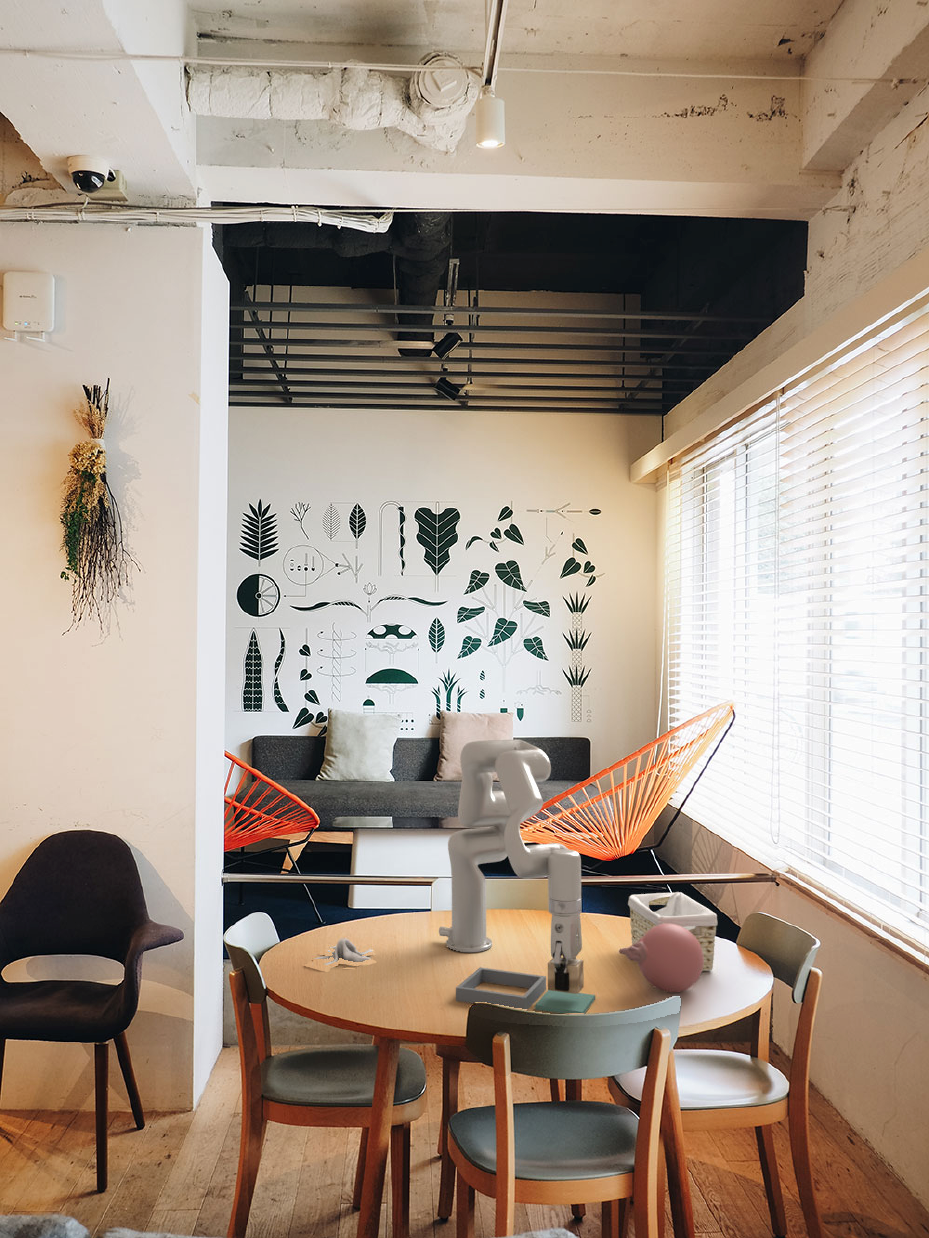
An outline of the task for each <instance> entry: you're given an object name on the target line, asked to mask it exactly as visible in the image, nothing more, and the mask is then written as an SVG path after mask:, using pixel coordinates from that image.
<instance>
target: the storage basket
mask: <svg viewBox="0 0 929 1238" xmlns="http://www.w3.org/2000/svg"><path fill="white" fill-rule="evenodd" d="M627 905H628V906H629V913H630V914H629V917H630V918H629V919H630V934H631V945H633V944H635V943H637V942H638V941H639V940H640V939H641V938H642V937H643V936H644V935H645V933H646V932H647V931H649V930H650V929H651V928H653V927H655V926H657V925H660V924H676V925H679V926H681V927H684V928H685V929H687V930H688V931H690V932H691V933H692V934H693V935H694V936H695V938H696V939H697V940H698V942H699V944H700V946H701V948H702V952H703V958H704V963H703V969H702V972H710V971H712V970H713V967H714V965H713V964H714V955H715V942H716V939H715V937H716V935H717V926H718V915H717V913H715V912H713V911H712V910H711V909H709V908H707V907H706V906H704V905H702V904H701V903H699V902H698V901H696V900H694V899H692V898H691V897H690V896H688V895H686V894H684V893H683V892H681V891H680V892H679V891H676V892H656V893H645V894H644V893H641V894H631V895H630V896H628V902H627ZM653 905H654V906H656V905H657V906H659V905H660V906H661V905H662V906H664V907H662V908H660V909H658V910H656V911H652V910H651V908H650V906H653Z"/></svg>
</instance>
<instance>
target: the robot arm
mask: <svg viewBox="0 0 929 1238" xmlns="http://www.w3.org/2000/svg"><path fill="white" fill-rule="evenodd" d="M459 756H460V757H459V758H460V759H459V760H460V761H459V763H460V768H461V769H460V770H461V786H460V793H459V801H458V808H457V809H458V810H457V817H458V822H459V823H460V825H462V826H463V827H465V829H461V830H458V831H456V832H454V833H452V834H451V835H450V837H449V839H448V842H447V853H448V857H449V862H450V873H451V926H450V927H446V926H439V928H438V934H439V936H441V937H447V940H446V941H445V944H446V945H447V946H448V947H449V948H450V949H449V948H448V947H447V946H446V945H445V946H446V947H447V948H448V949H449V950H451V949H453V950H452V951H454V950H456V951H455V952H458V951H460V953H478V952H479V953H481V952H485V951H487V950H490V949H491V948H492V946H493V941H492V940H491V938H489V937H487V881H486V876H485V875H484V874H483V872H482V871H481V869H480V868H479V865H481V864H487V863H488V864H489V863H497V862H501V861H503V860H505V859H506V858H507V857H508V860H509V863H510V867H511V868H512V870H513V871H514V873H515V874H516V876H518V877H519V878H520V879H524V880H530V879H531V880H532V879H538V878H539V879H540V878H544V877H545V878H547V880H548V881H547V883H548V884H547V885H548V887H547V888H548V889H547V892H548V894H547V895H548V896H547V897H548V903H547V904H548V913H549V914H551V921H550V924H551V925H550V955H551V959H552V958H553V959H554V962H553V963H554V967H555V989H556V990H561V991H569V973H567V972H568V959H569V961H572V960H573V959H577V956H578V954H580V952H581V951H582V950H583V939H582V924H581V923H582V922H581V913H582V859H581V855H580V853H579V852H578V851H577V850H574V849H569V848H568V847H567V846H566V845H564V844H562V843H557V842H551V843H540V844H531V845H525V843H524V840H523V837H522V835H521V824H522V823H524V822H525V821H527V820H528V819H530V818H532V817H533V816H535V815H537V814H538V813H539V812H540V811H541V810H542V808H543V806H544V800H543V798H542V795H541V792H540V790H539V787H538V784H537V783H542V782H545V781H547V780H548V779H549V778H550V776H551V772H552V766H551V761H550V758H549V757H548V755H547V754H546V753H545V752H544V751H543V749H540V748H539V747H538V746H535V745H533V744H531V743H529V742H527V741H525V740H523V739H493V740H489V739H488V740H477V741H476V740H474V741H471V742H468V743H466V744H465V745H463V747H462V750H461V752H460V755H459ZM492 773H496V775H497V779H498V782H499V785H500V786H501V789H502V790H493V785H494V784H493V783H494V778H493V776H492V775H493V774H492ZM467 828H468V829H467ZM561 957H562V958H561ZM561 961H565V963H564V965H563V963H561Z"/></svg>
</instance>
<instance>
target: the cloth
mask: <svg viewBox="0 0 929 1238" xmlns="http://www.w3.org/2000/svg"><path fill="white" fill-rule="evenodd" d="M329 947H330V948H333V949H335V951H334V952H332V954H333V955H332V956H318V957H315V958H314V959H327V958H328V959H329V958H330V957H333V958H334V960H333V961H331V962H328V963H326V964H324V965H329V964H332V963H334V962H337V961H338V960H339V958H342V959H344V960H348V961H353V962H363V961H365V960H369V959H371V957H370V956H368V957H367V956H362V955H364V954H366V953H368V952H372V951H374V950H373V949H372V948H369V950H367V951H365V952H362V953H361V952H358V951H357V950H356V949H357V947H356V945H354V943H353V942H352V941H350V940H349V938H347V937H345V938H343V937H341V938H339V940H338V941H337V944H336V945H335V946H329ZM371 949H372V950H371ZM327 951H328V952H331V951H330V950H327ZM312 964H313V963H312Z"/></svg>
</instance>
